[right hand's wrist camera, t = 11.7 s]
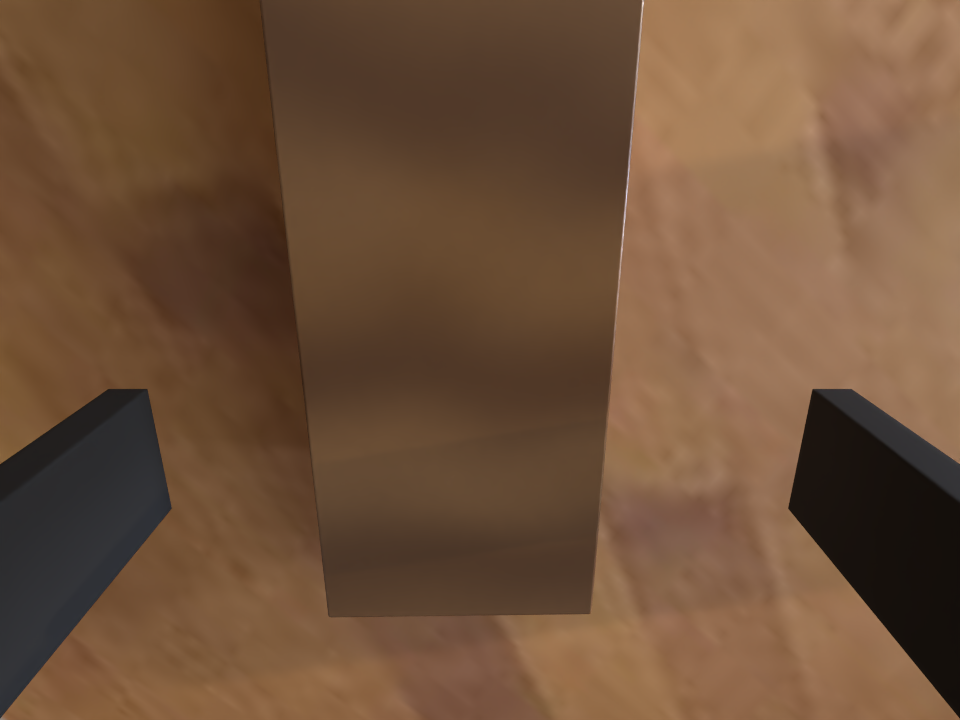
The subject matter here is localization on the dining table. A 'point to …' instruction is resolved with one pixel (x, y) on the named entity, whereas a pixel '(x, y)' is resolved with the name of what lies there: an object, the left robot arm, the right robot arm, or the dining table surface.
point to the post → (455, 288)
